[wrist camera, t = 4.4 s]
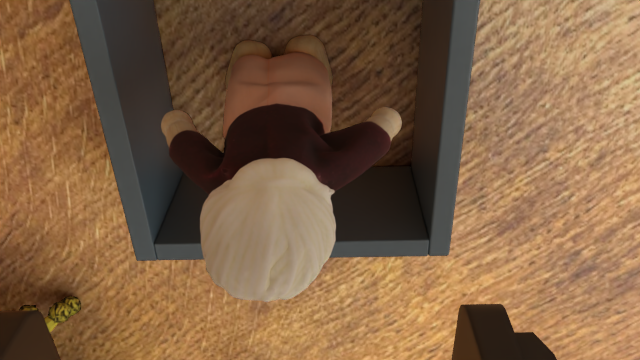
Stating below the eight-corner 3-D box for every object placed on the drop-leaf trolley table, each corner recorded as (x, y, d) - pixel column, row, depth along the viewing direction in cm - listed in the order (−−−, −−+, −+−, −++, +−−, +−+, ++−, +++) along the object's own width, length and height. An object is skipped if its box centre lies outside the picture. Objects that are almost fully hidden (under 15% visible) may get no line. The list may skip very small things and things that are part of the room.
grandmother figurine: (219, 129, 25) (137, 360, 14) (187, 47, 23) (64, 242, 12) (391, 91, 24) (446, 309, 13) (374, 1, 22) (422, 170, 11)
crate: (449, -79, 20) (487, -52, 16) (427, 180, 26) (449, 256, 21) (119, -71, 20) (58, -41, 16) (169, 184, 26) (136, 261, 22)
